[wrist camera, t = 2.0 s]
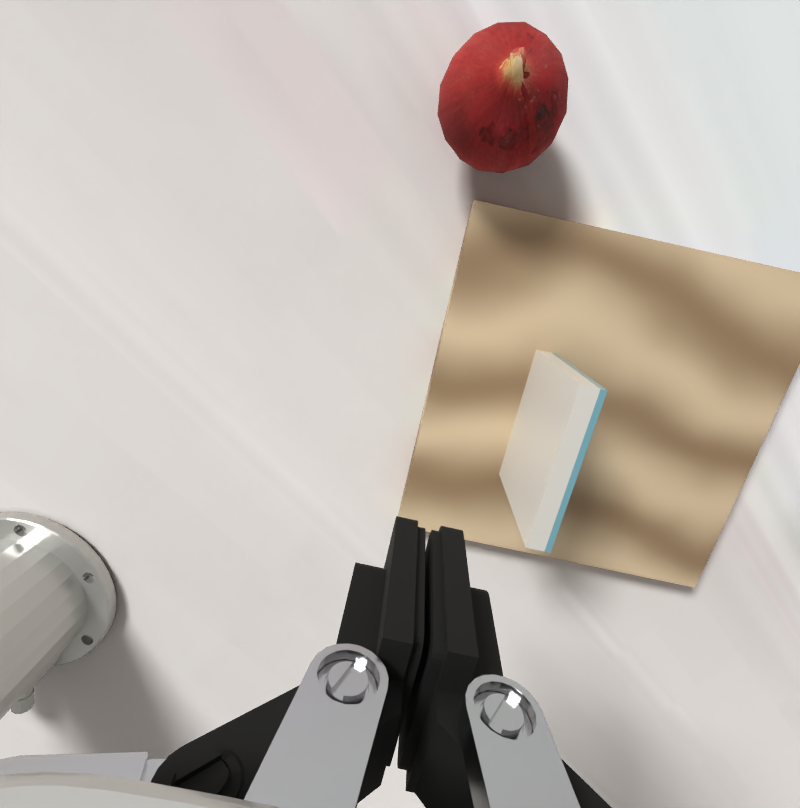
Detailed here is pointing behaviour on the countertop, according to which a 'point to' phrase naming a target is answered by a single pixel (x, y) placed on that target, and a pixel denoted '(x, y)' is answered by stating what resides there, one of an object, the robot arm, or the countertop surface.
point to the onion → (503, 97)
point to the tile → (548, 446)
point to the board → (605, 386)
